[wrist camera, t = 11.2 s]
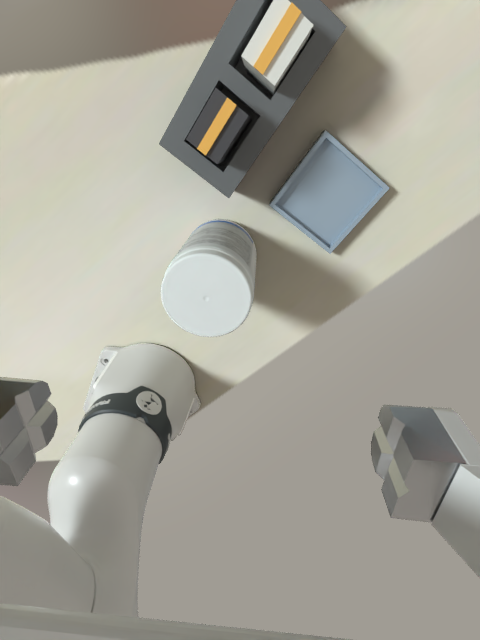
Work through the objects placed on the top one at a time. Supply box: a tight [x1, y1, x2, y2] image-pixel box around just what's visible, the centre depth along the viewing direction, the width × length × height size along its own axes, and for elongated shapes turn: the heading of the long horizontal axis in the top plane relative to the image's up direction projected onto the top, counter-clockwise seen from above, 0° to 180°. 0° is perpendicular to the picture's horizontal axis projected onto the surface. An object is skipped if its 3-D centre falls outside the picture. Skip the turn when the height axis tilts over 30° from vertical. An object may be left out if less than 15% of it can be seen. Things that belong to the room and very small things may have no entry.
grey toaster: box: [159, 0, 346, 198], centre depth 34 cm, size 18×9×10 cm, turn 144°
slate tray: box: [269, 130, 389, 253], centre depth 42 cm, size 10×10×2 cm
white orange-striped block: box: [241, 0, 313, 96], centre depth 32 cm, size 5×4×8 cm
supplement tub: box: [161, 219, 257, 337], centre depth 40 cm, size 10×10×15 cm
